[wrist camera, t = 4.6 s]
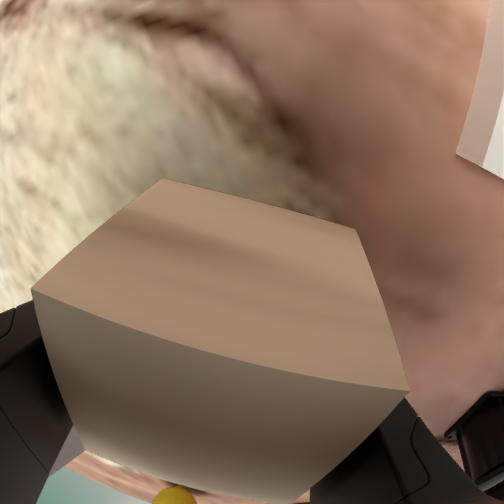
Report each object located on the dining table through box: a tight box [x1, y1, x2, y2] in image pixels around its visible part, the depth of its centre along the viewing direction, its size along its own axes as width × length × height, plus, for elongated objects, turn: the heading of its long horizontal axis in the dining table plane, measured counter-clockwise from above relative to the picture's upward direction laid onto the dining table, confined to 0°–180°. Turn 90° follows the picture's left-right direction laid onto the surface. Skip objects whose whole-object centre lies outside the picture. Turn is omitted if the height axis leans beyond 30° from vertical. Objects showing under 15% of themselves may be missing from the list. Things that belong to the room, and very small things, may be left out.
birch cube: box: [31, 178, 410, 504], centre depth 7 cm, size 5×5×5 cm
